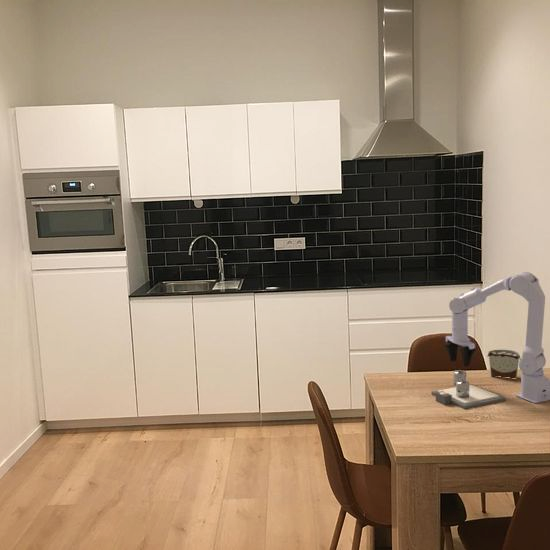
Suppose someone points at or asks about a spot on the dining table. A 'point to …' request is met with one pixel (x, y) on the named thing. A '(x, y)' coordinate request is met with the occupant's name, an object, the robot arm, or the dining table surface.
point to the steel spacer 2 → (462, 389)
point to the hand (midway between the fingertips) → (459, 363)
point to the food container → (504, 363)
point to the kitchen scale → (475, 398)
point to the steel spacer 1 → (459, 376)
